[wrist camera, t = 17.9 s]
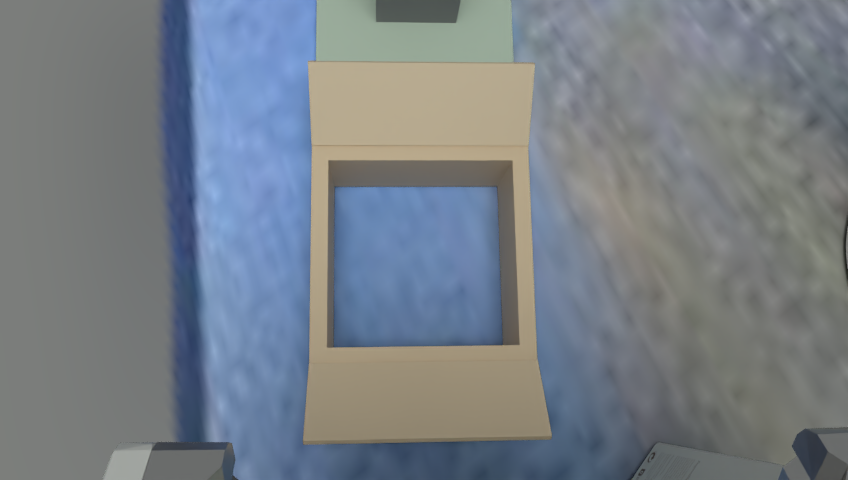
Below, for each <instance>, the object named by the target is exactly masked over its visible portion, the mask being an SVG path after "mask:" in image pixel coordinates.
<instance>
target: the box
mask: <svg viewBox="0 0 848 480" xmlns="http://www.w3.org/2000/svg"><path fill="white" fill-rule="evenodd" d="M460 1H461V0H376V22H411V23H456V21H457V16H458V11H459V6H460Z"/></svg>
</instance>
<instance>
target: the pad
mask: <svg viewBox="0 0 848 480" xmlns="http://www.w3.org/2000/svg"><path fill="white" fill-rule="evenodd" d="M316 61H401V62H514V61H513V37H512V12H511V0H461V1H460V6H459V11H458V16H457V21H456V23H411V22H376V0H317V24H316Z"/></svg>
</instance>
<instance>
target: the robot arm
mask: <svg viewBox="0 0 848 480" xmlns="http://www.w3.org/2000/svg"><path fill="white" fill-rule="evenodd" d="M846 258H847V267H848V228H847V236H846ZM792 448H793V449H794V451H795V453H796V455H797V457H796V458H794V459H793V460H792V461H790V462H789V463H787V464H786V465H785V466H783V467H782V470H781V473H780V475H779V478H778V480H848V427H840V428H812V429H804V430H803V431H801V432H800V433H799V434H797V436H796V438H795V441H794V443H793V445H792ZM234 464H235V455H234V451H233V446H232V443H229V442H157V443H119V445H118V446H117V447H116V449H115V450H114V451H113V452H112V455H111V457H110V460H109V463H108V465H107V468H106V471H105V473H104V476H103V479H102V480H238V479H237V478H235V477H234V476H233V469H234Z"/></svg>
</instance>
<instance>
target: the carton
mask: <svg viewBox="0 0 848 480" xmlns="http://www.w3.org/2000/svg"><path fill="white" fill-rule="evenodd" d="M534 69H535V63H524V62H401V61H308V72H309V95H310V118H311V141H312V180H311V262H310V343H309V370H308V383H307V395H306V408H305V421H304V434H303V445H308V444H357V443H406V442H455V441H504V440H551V438H552V433H551V428H550V422H549V417H548V412H547V406H546V401H545V396H544V390H543V385H542V380H541V374H540V369H539V364H538V360H537V342H536V318H535V295H534V272H533V249H532V226H531V203H530V179H529V156H528V146H529V134H530V121H531V108H532V95H533V82H534ZM335 187H497V191H498V220H499V249H500V277H501V306H502V335H503V345H489V346H414V347H338V348H334V202H335Z"/></svg>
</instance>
